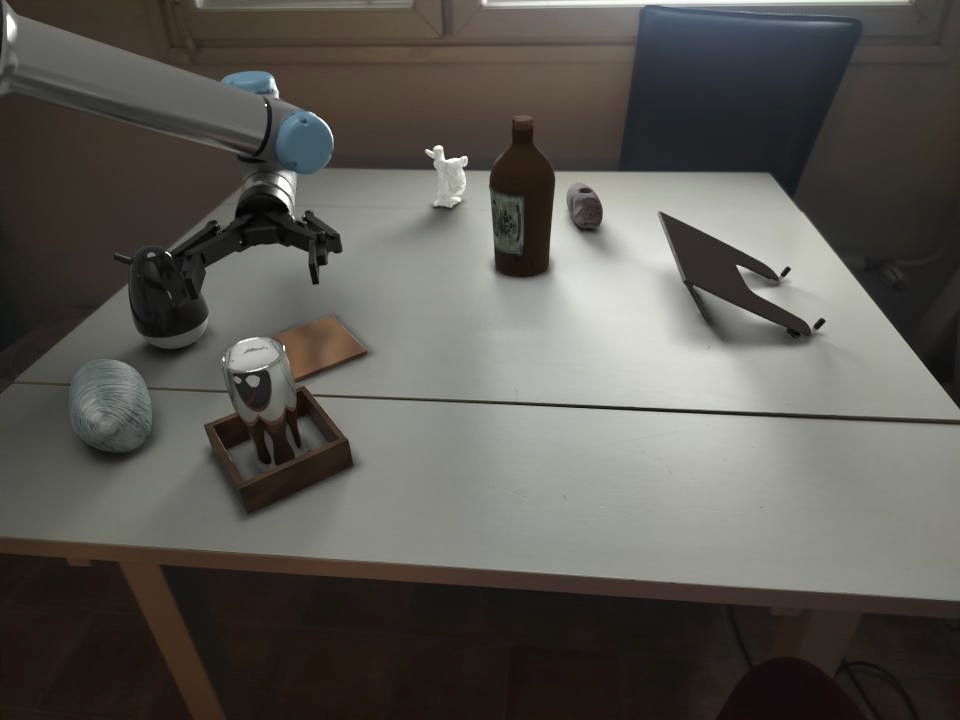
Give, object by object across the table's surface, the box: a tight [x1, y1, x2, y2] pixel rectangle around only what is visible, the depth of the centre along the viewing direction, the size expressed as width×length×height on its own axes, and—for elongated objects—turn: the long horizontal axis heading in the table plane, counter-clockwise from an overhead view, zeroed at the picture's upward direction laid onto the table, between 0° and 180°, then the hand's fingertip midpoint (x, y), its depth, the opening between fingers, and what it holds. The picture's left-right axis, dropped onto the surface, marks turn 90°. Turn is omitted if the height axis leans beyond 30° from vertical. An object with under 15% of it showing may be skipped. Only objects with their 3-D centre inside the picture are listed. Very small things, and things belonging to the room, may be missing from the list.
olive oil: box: [488, 114, 556, 278], centre depth 109 cm, size 11×11×25 cm
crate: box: [203, 384, 354, 515], centre depth 77 cm, size 13×13×4 cm
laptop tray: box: [657, 210, 827, 340], centre depth 101 cm, size 23×23×9 cm
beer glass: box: [220, 335, 309, 473], centre depth 74 cm, size 7×7×15 cm
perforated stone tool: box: [565, 181, 604, 230], centre depth 129 cm, size 15×5×7 cm, turn 6°
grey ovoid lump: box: [68, 358, 153, 453], centre depth 82 cm, size 14×10×10 cm
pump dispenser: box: [112, 244, 210, 350], centre depth 96 cm, size 10×10×15 cm
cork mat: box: [271, 315, 368, 383], centre depth 97 cm, size 12×12×1 cm
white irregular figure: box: [424, 144, 469, 209], centre depth 136 cm, size 8×7×12 cm
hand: (253, 281), depth 76 cm, fingers open, 13 cm apart
